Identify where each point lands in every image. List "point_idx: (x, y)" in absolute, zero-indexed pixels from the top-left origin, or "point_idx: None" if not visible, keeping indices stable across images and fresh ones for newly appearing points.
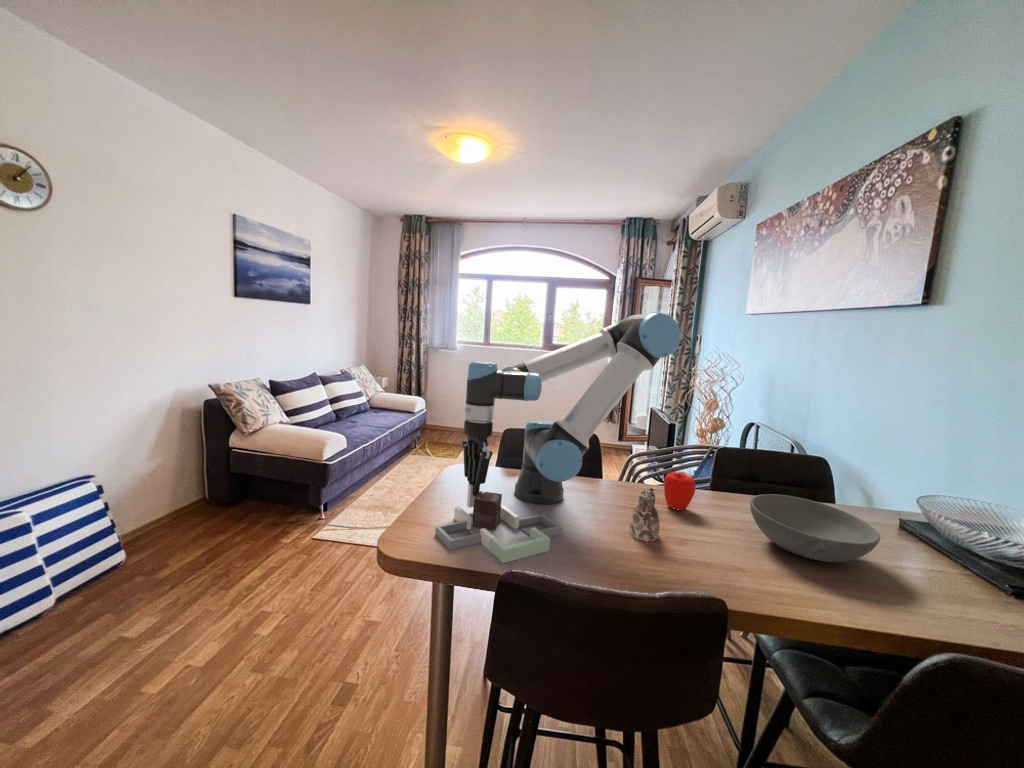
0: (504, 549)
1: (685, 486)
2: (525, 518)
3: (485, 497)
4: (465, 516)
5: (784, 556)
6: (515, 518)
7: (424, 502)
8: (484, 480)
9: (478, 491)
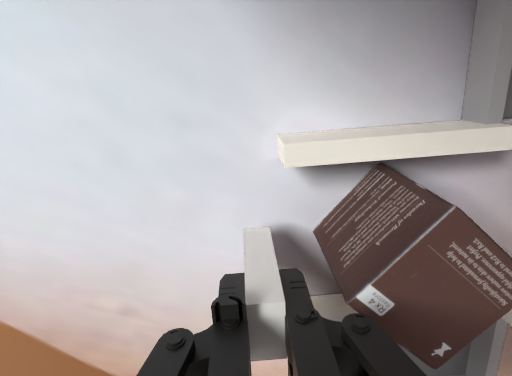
0: None
1: None
2: (504, 79)
3: (454, 318)
4: None
5: None
6: (509, 148)
7: (113, 364)
8: (387, 341)
9: (305, 289)
